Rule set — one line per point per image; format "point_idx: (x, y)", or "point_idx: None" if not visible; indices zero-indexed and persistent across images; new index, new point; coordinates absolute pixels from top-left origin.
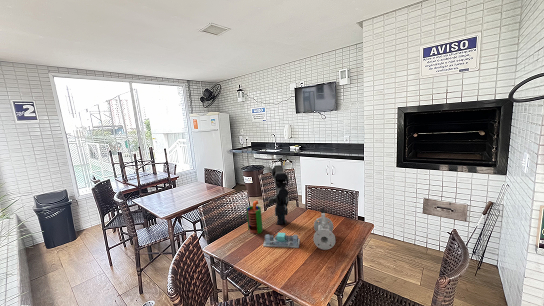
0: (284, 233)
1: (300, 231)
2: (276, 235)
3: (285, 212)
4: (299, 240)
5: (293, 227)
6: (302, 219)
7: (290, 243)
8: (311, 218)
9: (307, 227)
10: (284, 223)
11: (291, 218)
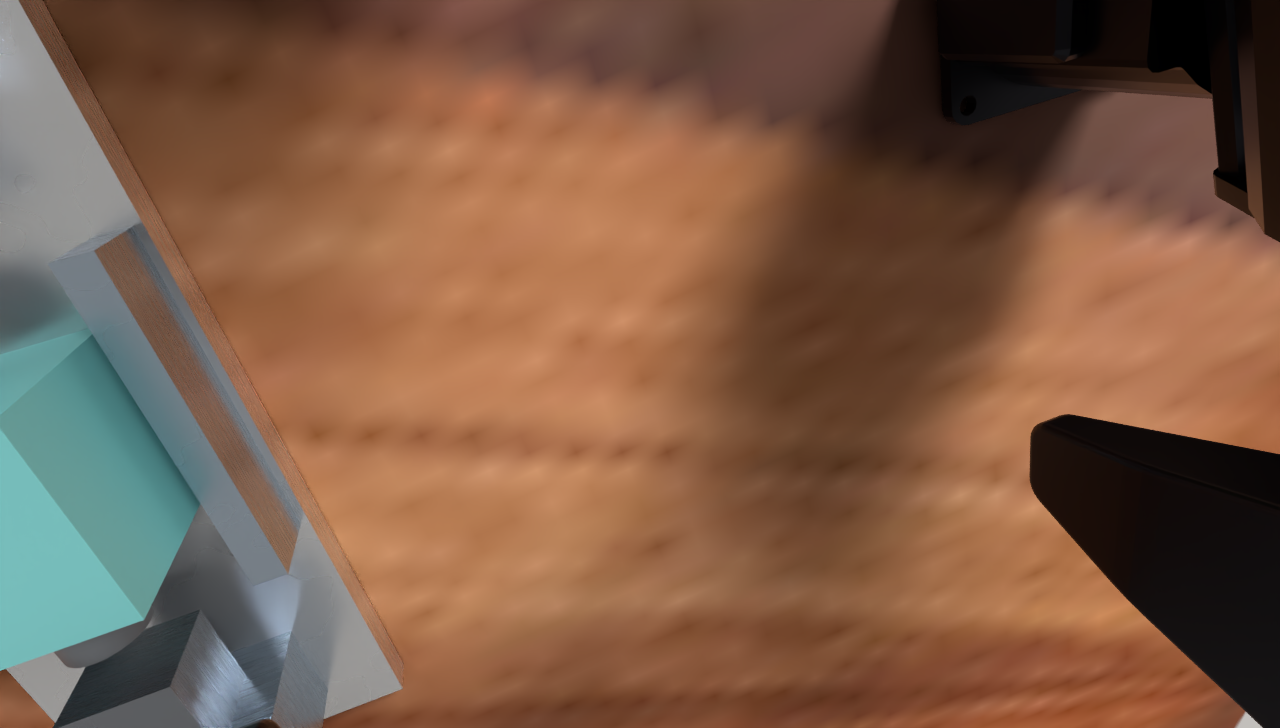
0: (86, 618)
1: (726, 534)
2: (83, 280)
3: (1274, 231)
4: (344, 709)
5: (851, 351)
6: (1170, 374)
7: None
8: None
9: (888, 570)
10: (980, 92)
11: None
